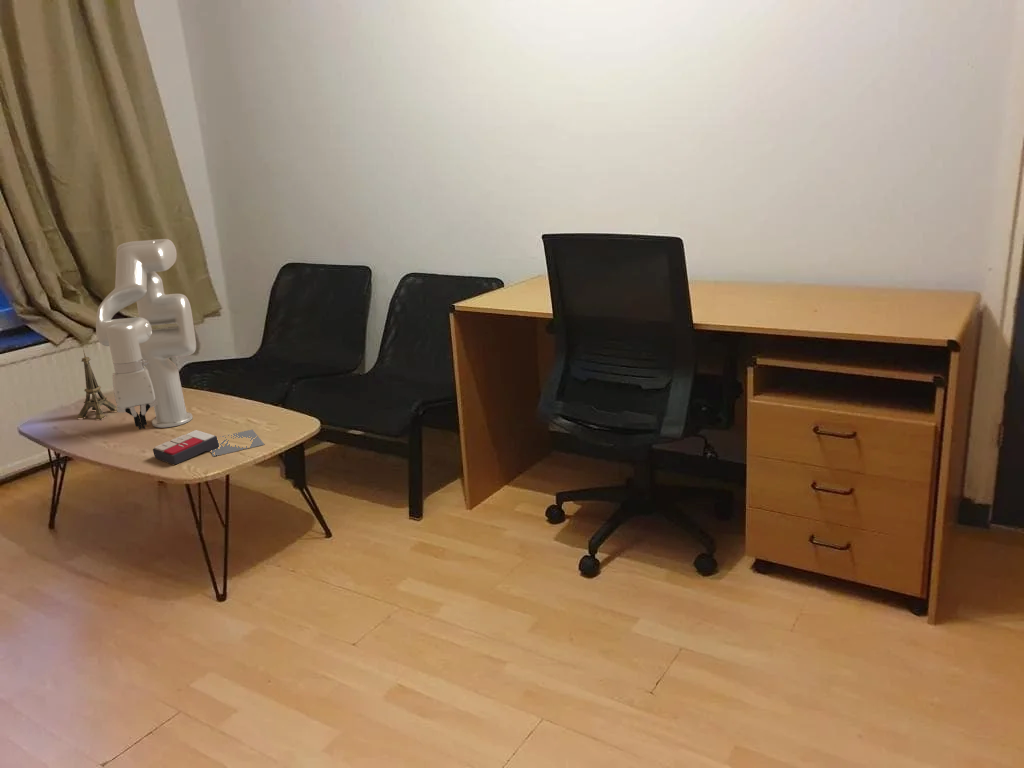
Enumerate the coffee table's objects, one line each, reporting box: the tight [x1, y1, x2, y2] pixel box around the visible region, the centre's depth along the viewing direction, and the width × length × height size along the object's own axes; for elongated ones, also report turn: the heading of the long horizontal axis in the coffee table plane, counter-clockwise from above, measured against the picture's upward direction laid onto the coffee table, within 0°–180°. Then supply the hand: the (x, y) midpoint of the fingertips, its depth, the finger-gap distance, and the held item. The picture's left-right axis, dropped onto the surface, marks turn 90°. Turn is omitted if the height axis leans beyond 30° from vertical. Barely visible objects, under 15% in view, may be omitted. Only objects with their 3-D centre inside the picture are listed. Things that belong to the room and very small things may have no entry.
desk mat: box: [210, 429, 265, 458], centre depth 246 cm, size 16×15×1 cm
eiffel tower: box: [76, 348, 117, 420], centre depth 278 cm, size 11×11×25 cm
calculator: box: [152, 429, 219, 466], centre depth 240 cm, size 11×4×15 cm
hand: (141, 427), depth 232 cm, fingers closed
